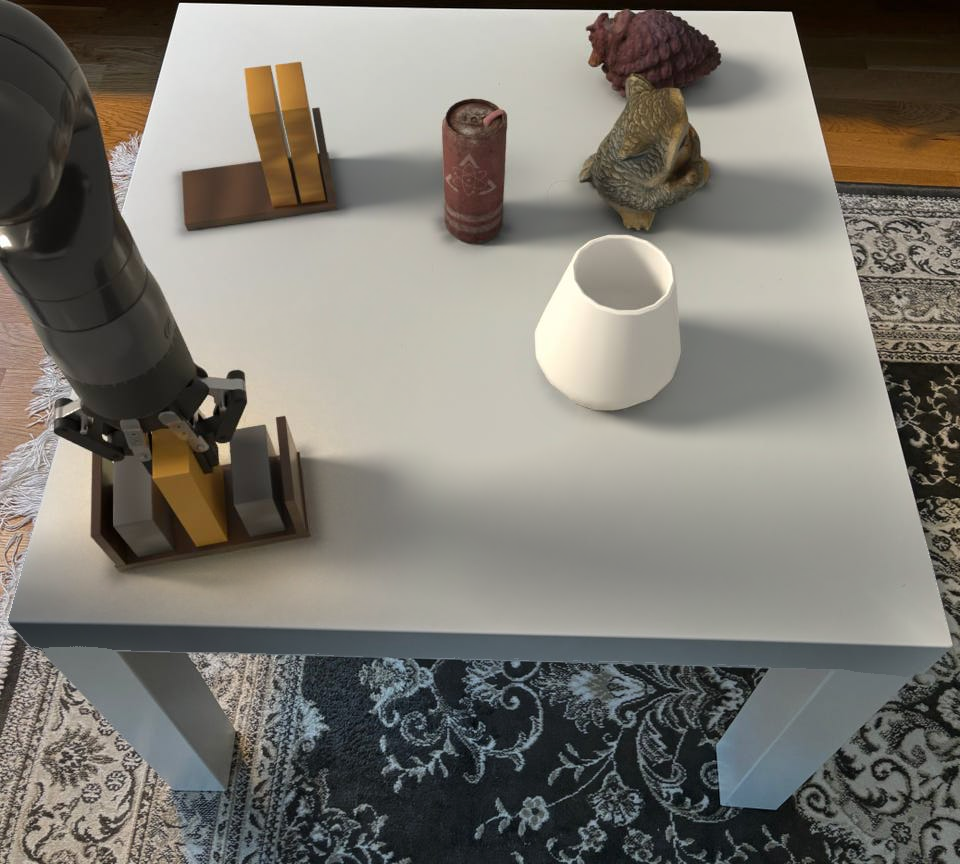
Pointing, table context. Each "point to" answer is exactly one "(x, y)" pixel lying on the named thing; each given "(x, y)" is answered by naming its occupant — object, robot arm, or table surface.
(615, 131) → the figurine
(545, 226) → the table surface
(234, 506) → the brown book rack
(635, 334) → the cup
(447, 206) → the can
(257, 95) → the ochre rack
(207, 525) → the ochre book
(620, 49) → the pine cone
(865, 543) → the table surface
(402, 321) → the table surface
